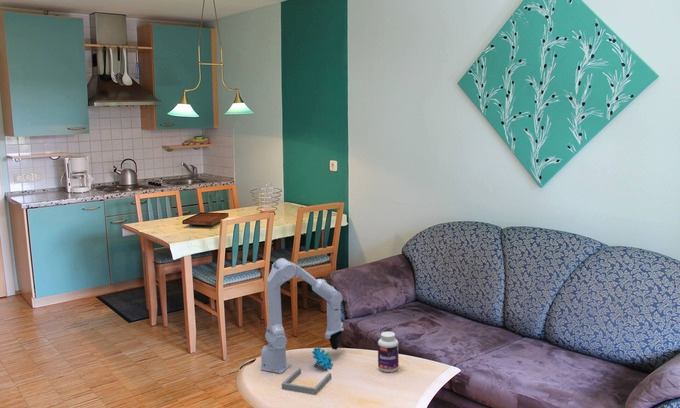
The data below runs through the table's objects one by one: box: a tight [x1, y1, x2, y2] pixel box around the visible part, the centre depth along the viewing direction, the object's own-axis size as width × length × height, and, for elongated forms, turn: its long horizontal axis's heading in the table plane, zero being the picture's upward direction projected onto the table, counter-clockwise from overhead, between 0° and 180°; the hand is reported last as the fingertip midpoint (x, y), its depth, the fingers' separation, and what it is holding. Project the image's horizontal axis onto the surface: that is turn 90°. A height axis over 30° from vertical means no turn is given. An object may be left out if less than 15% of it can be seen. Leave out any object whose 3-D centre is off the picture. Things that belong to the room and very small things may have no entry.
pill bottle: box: [377, 331, 400, 373], centre depth 233 cm, size 8×8×14 cm
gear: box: [312, 347, 333, 370], centre depth 239 cm, size 11×6×10 cm
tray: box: [281, 367, 332, 396], centre depth 224 cm, size 14×14×2 cm
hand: (334, 348), depth 248 cm, fingers closed
